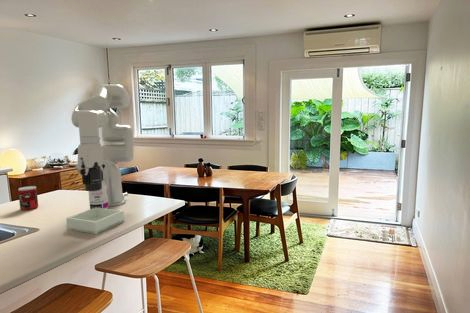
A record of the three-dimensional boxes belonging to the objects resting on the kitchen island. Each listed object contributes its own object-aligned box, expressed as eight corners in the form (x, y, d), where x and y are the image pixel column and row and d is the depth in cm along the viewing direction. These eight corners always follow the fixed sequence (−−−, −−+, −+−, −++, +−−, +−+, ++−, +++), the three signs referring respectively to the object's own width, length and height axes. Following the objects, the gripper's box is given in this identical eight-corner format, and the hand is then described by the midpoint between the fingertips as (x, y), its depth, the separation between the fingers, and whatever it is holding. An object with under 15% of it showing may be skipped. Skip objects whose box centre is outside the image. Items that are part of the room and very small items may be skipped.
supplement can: (104, 209, 163) (102, 180, 161) (111, 213, 157) (109, 182, 155) (87, 213, 157) (85, 183, 155) (94, 217, 151) (92, 185, 149)
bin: (96, 217, 150) (95, 207, 149) (124, 221, 144) (123, 210, 144) (67, 229, 135) (66, 218, 135) (96, 234, 130) (95, 222, 129)
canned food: (16, 210, 165) (14, 189, 163) (31, 205, 172) (29, 185, 170) (27, 211, 162) (24, 190, 160) (41, 207, 169) (39, 186, 168)
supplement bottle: (96, 191, 134) (93, 163, 132) (81, 191, 135) (79, 162, 133) (105, 187, 140) (103, 160, 139) (91, 187, 142) (89, 160, 140)
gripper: (98, 138, 144) (101, 177, 147) (65, 142, 128) (69, 186, 131) (112, 138, 141) (114, 178, 144) (79, 142, 125) (83, 187, 128)
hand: (93, 182), depth 137 cm, fingers closed on supplement bottle, 6 cm apart
